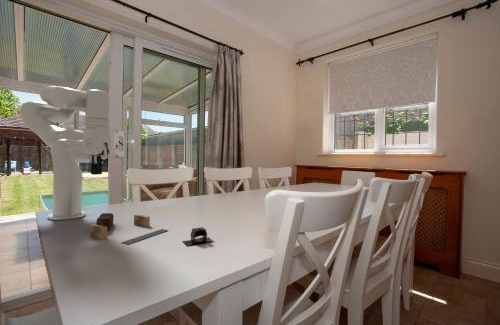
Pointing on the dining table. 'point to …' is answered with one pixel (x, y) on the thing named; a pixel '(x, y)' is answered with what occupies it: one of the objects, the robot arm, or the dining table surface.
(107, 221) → the brick
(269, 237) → the dining table surface
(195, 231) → the black arch bracket
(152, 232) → the dark grey flat strip
